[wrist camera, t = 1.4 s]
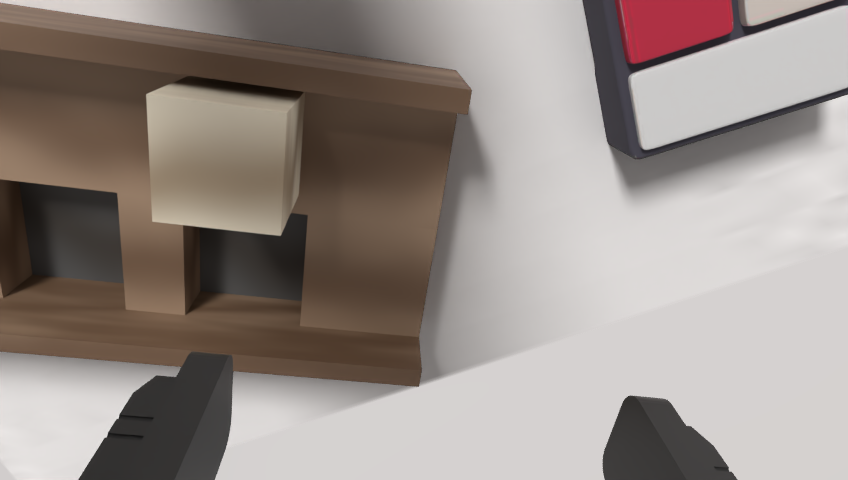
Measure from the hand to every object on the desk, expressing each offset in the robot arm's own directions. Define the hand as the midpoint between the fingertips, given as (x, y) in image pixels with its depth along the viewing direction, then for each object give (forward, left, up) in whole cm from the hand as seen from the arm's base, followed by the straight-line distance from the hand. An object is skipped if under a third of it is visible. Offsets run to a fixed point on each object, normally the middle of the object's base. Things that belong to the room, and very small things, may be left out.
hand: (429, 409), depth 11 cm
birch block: (0, -7, -17) cm, 19 cm away
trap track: (+3, -13, -20) cm, 24 cm away
